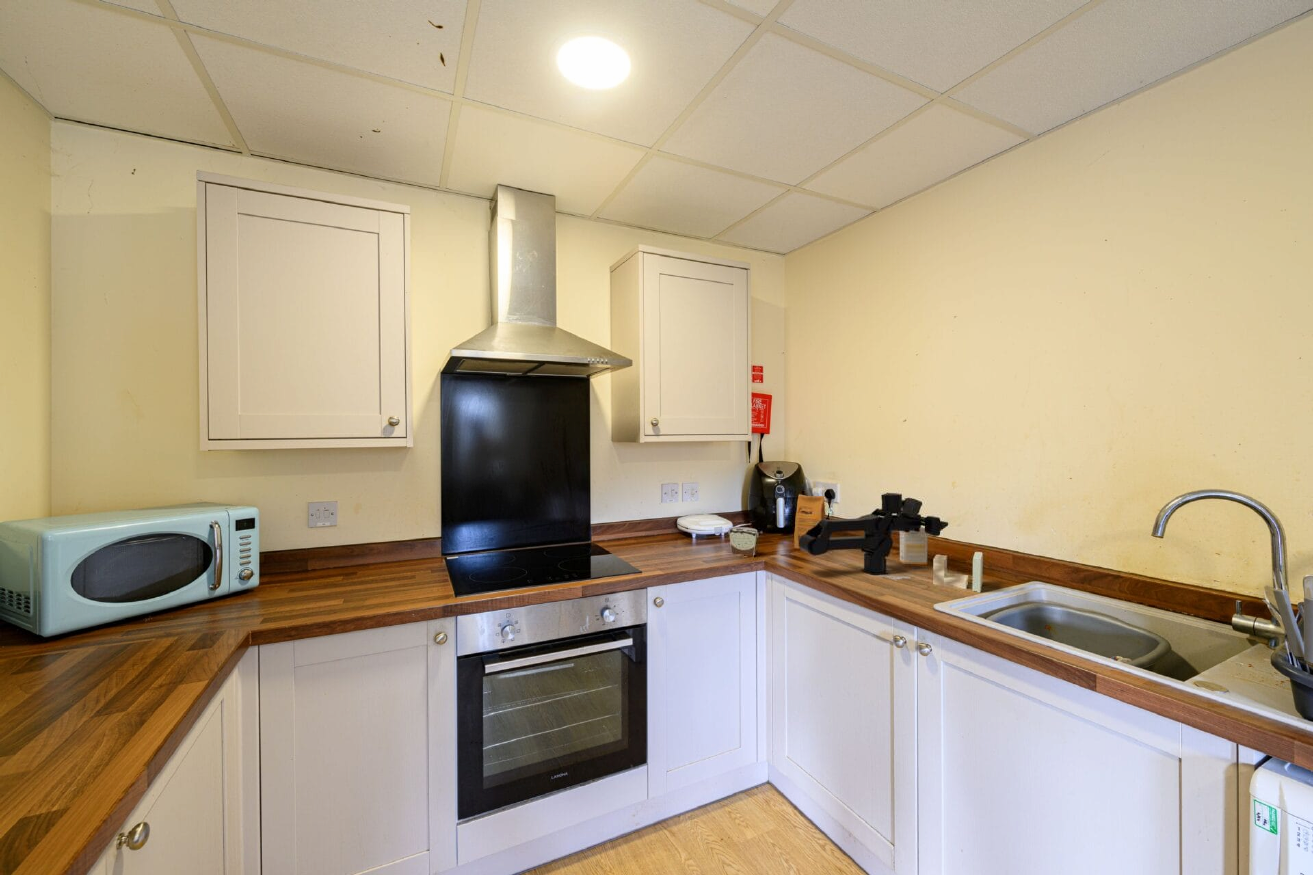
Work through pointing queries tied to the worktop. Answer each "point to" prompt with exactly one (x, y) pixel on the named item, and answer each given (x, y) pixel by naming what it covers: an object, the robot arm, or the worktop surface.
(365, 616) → the worktop surface
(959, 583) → the stepped block
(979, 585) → the board
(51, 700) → the worktop surface
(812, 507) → the coffee package
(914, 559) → the supplement box
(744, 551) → the food container
